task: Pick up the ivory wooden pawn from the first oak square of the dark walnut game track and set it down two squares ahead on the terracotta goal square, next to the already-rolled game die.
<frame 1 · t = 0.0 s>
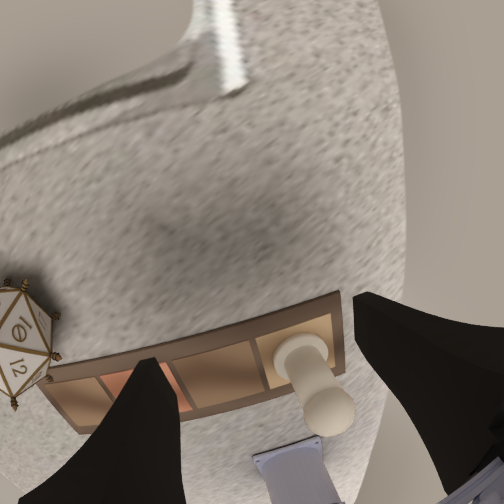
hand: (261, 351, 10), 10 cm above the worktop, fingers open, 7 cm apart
board: (182, 384, 22), on the worktop
game die: (29, 308, 18), on the worktop
pawn: (299, 354, 23), resting on board
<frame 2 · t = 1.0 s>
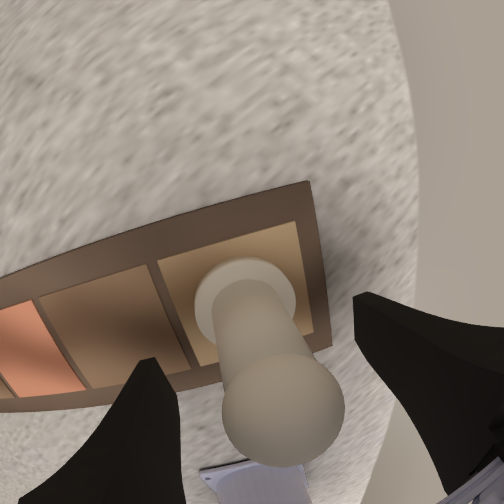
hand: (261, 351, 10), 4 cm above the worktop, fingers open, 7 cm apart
board: (64, 344, 13), on the worktop
pawn: (243, 301, 13), resting on board
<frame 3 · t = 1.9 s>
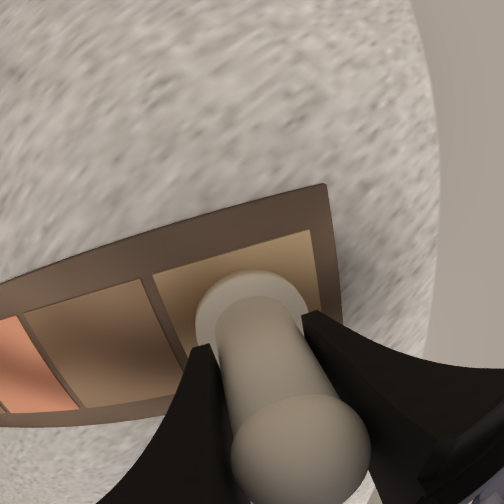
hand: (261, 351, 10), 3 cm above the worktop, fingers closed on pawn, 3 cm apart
board: (54, 361, 11), on the worktop
pawn: (250, 319, 12), resting on board, touching gripper
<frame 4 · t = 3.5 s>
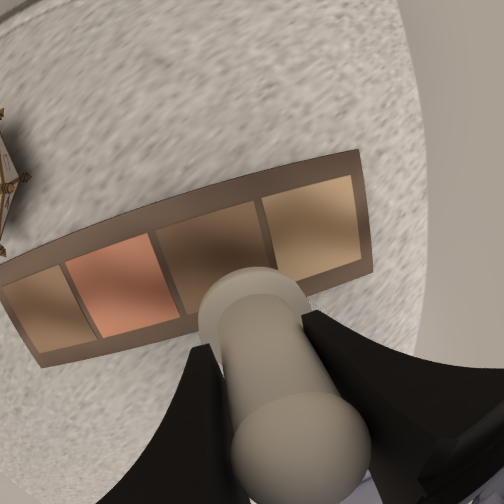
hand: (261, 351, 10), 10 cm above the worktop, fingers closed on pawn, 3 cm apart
board: (168, 273, 18), on the worktop
pawn: (253, 317, 12), point 7 cm above the worktop, touching gripper
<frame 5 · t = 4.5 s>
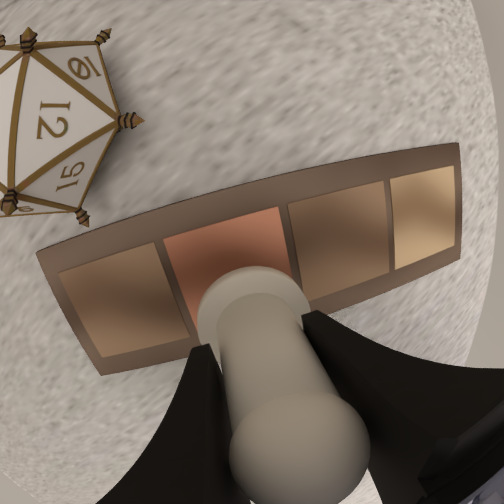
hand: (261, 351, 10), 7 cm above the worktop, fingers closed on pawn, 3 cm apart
board: (290, 255, 17), on the worktop
game die: (70, 128, 12), on the worktop
pawn: (252, 316, 12), point 5 cm above the worktop, touching gripper
when the fingers open (4 cm above the worktop, at t = 5.4 s): pawn stays where it is, resting on board.
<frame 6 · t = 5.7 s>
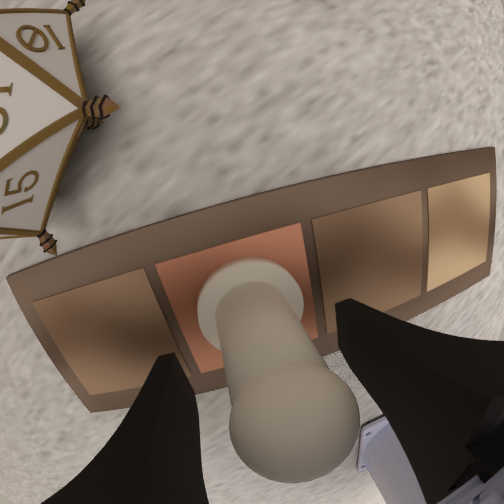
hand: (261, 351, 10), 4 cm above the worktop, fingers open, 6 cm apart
board: (312, 281, 14), on the worktop
game die: (40, 125, 9), on the worktop
pawn: (248, 304, 13), resting on board
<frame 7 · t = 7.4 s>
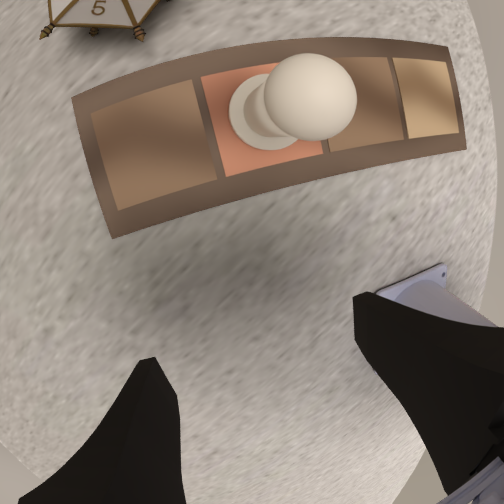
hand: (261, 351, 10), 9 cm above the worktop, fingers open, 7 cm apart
board: (314, 106, 16), on the worktop
game die: (125, 1, 12), on the worktop
pawn: (267, 112, 16), resting on board
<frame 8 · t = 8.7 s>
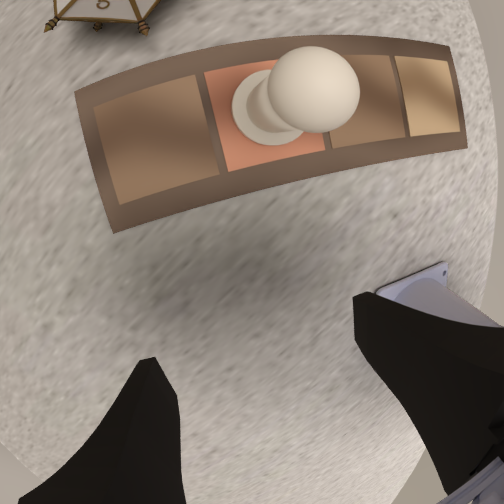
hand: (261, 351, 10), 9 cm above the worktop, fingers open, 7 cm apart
board: (316, 102, 16), on the worktop
pawn: (269, 108, 16), resting on board
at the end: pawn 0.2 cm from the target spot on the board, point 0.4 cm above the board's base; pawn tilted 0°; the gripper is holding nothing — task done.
